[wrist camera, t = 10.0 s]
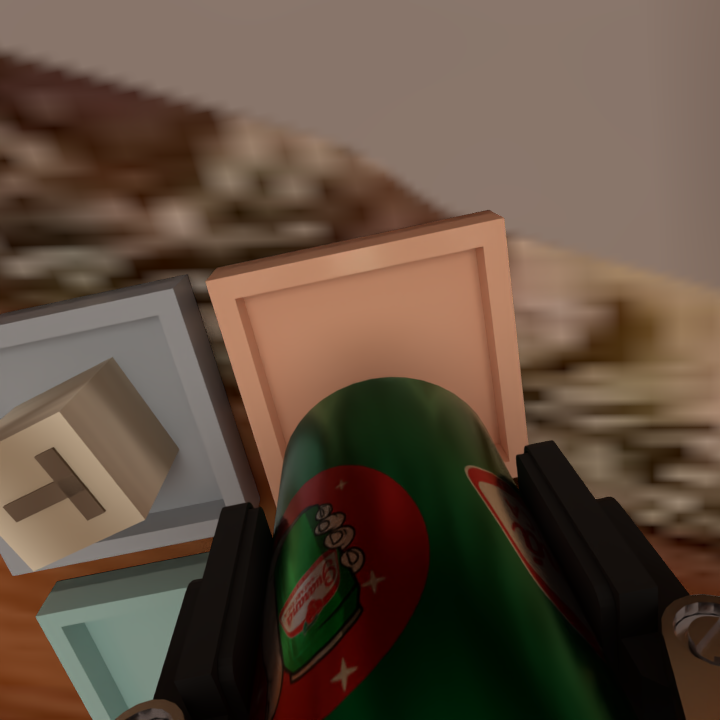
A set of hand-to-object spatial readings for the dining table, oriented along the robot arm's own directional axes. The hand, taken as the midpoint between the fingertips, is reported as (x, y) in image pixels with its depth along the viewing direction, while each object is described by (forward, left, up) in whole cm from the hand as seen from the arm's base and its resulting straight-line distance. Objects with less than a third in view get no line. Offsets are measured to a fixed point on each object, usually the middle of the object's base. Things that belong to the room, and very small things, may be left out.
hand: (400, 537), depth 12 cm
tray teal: (+10, +11, -9) cm, 18 cm away
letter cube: (+10, 0, -9) cm, 13 cm away
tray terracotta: (0, 0, -9) cm, 9 cm away
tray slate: (+10, 0, -9) cm, 14 cm away
